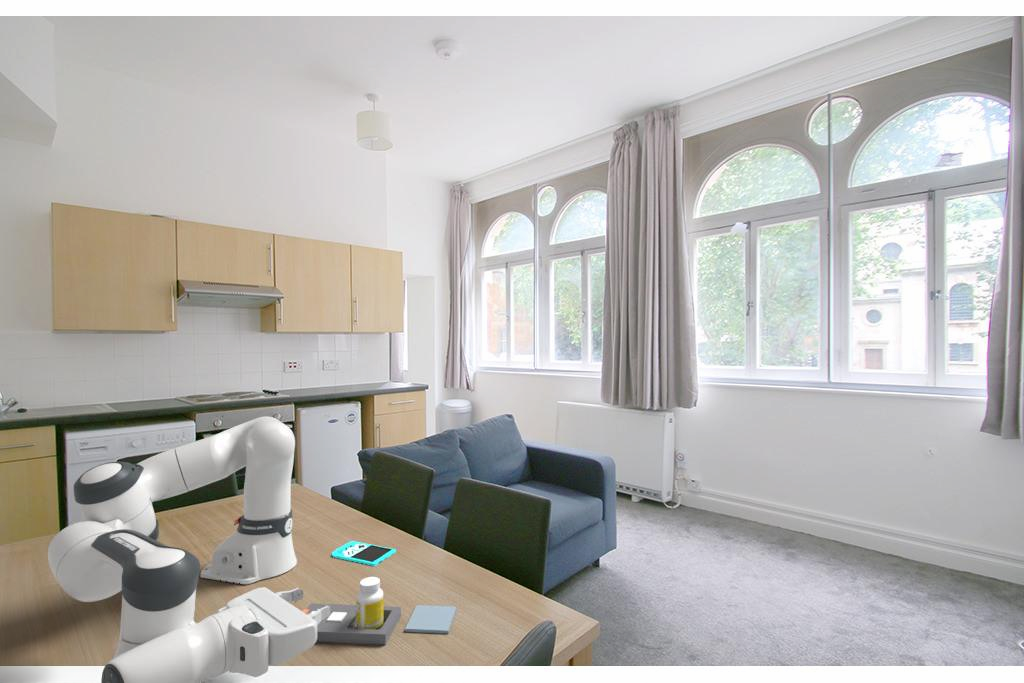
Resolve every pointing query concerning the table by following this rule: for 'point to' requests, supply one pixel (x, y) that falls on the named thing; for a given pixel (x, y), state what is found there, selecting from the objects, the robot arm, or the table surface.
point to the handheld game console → (363, 553)
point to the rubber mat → (431, 619)
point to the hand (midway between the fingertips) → (314, 600)
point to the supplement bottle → (369, 604)
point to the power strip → (344, 621)
